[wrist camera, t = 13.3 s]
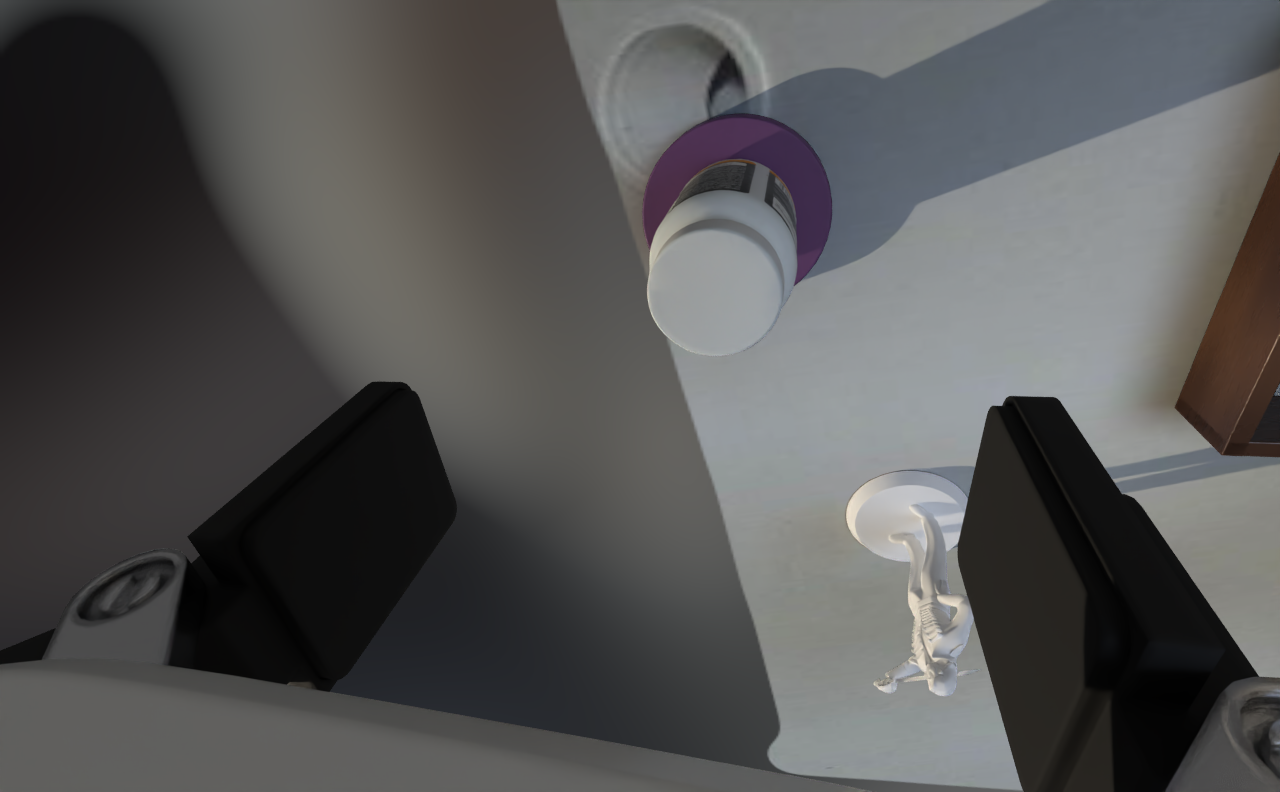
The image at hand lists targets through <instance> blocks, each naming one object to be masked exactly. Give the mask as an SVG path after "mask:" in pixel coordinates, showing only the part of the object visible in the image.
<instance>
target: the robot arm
mask: <svg viewBox="0 0 1280 792" xmlns="http://www.w3.org/2000/svg"><path fill="white" fill-rule="evenodd" d="M456 512H457V505H456V500H455V497H454V495H453V492H452V489H451V486H450V483H449V480H448V477H447V475H446V472H445V469H444V466H443V463H442V460H441V458H440V455H439V452H438V449H437V446H436V444H435V441H434V438H433V435H432V432H431V429H430V427H429V424H428V421H427V418H426V416H425V412H424V409H423V407H422V404H421V401H420V398H419V396H418V394H417V393H416V392H415V391H412V390H411V388H410V387H409V386H408V385H407V384H405V383H403V382H371V383H370V384H368V385H367V386H365V387H364V388H363V389H362V390H361V391H360V392H358V393H357V394H356V395H355V396H354V397H353V398H351V399H350V400H349V401H348V402H347V403H345V404H344V405H343V406H342V407H341V408H339V409H338V410H337V411H336V412H335V413H333V414H332V415H331V416H330V417H329V418H328V419H326V420H325V421H324V422H323V423H322V424H320V425H319V426H318V427H317V428H316V429H314V430H313V431H312V432H311V433H310V434H309V435H307V436H306V437H305V438H304V439H303V440H301V441H300V442H299V443H298V444H297V445H295V446H294V447H293V448H292V449H291V450H290V451H288V452H287V453H286V454H285V455H284V456H283V457H281V458H280V459H279V460H278V461H276V462H275V463H274V464H273V465H272V466H271V467H269V468H268V469H267V470H266V471H265V472H263V473H262V474H261V475H260V476H259V477H257V478H256V479H255V480H254V481H253V482H252V483H250V484H249V485H248V486H247V487H246V488H244V489H243V490H242V491H241V492H240V493H239V494H237V495H236V496H235V497H234V498H233V499H231V500H230V501H229V502H228V503H227V504H226V505H224V506H223V507H222V508H221V509H220V510H218V511H217V512H216V513H215V514H214V515H212V516H211V517H210V518H209V519H208V520H207V521H205V522H204V523H203V524H202V525H201V526H199V527H198V528H197V529H196V530H195V531H194V532H192V533H191V534H190V535H189V536H188V538H189V540H190V541H191V543H192V544H193V546H194V547H195V548H196V550H197V551H198V553H199V554H200V556H199V557H198V558H197V559H196V560H195V561H194V562H193V563H190V561H189V560H188V559H187V557H186V556H185V555H184V554H183V553H182V552H181V551H179V550H175V549H170V548H168V549H156V550H152V551H148V552H145V553H141V554H137V555H135V556H133V557H130V558H128V559H126V560H123V561H121V562H119V563H117V564H115V565H114V566H112V567H110V568H108V569H106V570H105V571H103V572H102V573H100V574H99V575H97V576H96V577H94V578H93V579H92V580H90V581H89V582H88V583H87V584H85V585H84V586H83V587H82V588H81V589H80V590H79V591H78V592H77V593H76V594H75V595H74V596H73V597H72V599H71V600H70V601H69V603H68V604H67V606H66V608H65V609H64V611H63V614H62V616H61V618H60V620H59V623H58V625H57V627H56V628H55V629H52V630H50V631H47V632H45V633H42V634H40V635H38V636H35V637H33V638H30V639H28V640H25V641H23V642H21V643H18V644H16V645H13V646H11V647H8V648H6V649H3V650H1V651H0V792H873V791H868V790H863V789H858V788H853V787H848V786H843V785H838V784H834V783H829V782H823V781H818V780H812V779H807V778H802V777H796V776H790V775H785V774H780V773H775V772H769V771H764V770H758V769H753V768H747V767H742V766H737V765H731V764H726V763H721V762H715V761H710V760H704V759H699V758H693V757H688V756H683V755H677V754H672V753H666V752H661V751H656V750H650V749H645V748H639V747H633V746H629V745H623V744H618V743H612V742H607V741H601V740H595V739H590V738H585V737H579V736H574V735H568V734H562V733H557V732H551V731H546V730H540V729H535V728H529V727H523V726H518V725H512V724H507V723H501V722H496V721H490V720H485V719H479V718H473V717H468V716H462V715H457V714H451V713H445V712H439V711H434V710H429V709H423V708H417V707H412V706H406V705H400V704H395V703H389V702H384V701H378V700H371V699H366V698H360V697H354V696H349V695H343V694H337V693H332V692H330V690H331V689H332V687H333V686H334V684H335V683H336V682H337V680H339V679H341V678H343V677H344V676H346V675H347V674H348V673H349V671H350V670H351V669H352V667H353V666H354V664H355V663H356V662H357V660H358V659H359V657H360V656H361V654H362V653H363V651H364V650H365V649H366V647H367V646H368V644H369V643H370V641H371V640H372V638H373V637H374V635H375V634H376V633H377V631H378V630H379V628H380V627H381V625H382V624H383V623H384V621H385V620H386V618H387V617H388V615H389V614H390V612H391V611H392V610H393V608H394V607H395V605H396V604H397V602H398V601H399V600H400V598H401V597H402V595H403V594H404V592H405V591H406V589H407V588H408V586H409V585H410V583H411V582H412V581H413V579H414V578H415V576H416V575H417V574H418V572H419V571H420V569H421V568H422V566H423V565H424V563H425V562H426V561H427V559H428V558H429V556H430V555H431V553H432V552H433V551H434V549H435V548H436V546H437V545H438V543H439V542H440V540H441V539H442V538H443V536H444V535H445V533H446V532H447V530H448V529H449V527H450V526H451V525H452V523H453V521H454V519H455V517H456ZM958 563H959V568H960V571H961V575H962V578H963V582H964V586H965V589H966V593H967V596H968V600H969V603H970V607H971V610H972V614H973V617H974V621H975V624H976V628H977V631H978V635H979V638H980V642H981V646H982V649H983V653H984V656H985V660H986V663H987V667H988V670H989V674H990V677H991V681H992V684H993V688H994V691H995V695H996V699H997V702H998V706H999V709H1000V713H1001V716H1002V720H1003V723H1004V727H1005V730H1006V734H1007V737H1008V741H1009V744H1010V748H1011V752H1012V755H1013V759H1014V762H1015V766H1016V769H1017V773H1018V776H1019V780H1020V783H1021V786H1022V789H1023V791H1024V792H1280V678H1273V677H1259V676H1258V674H1257V673H1256V671H1255V670H1254V668H1253V667H1252V666H1251V664H1250V663H1249V661H1248V660H1247V658H1246V657H1245V655H1244V654H1243V653H1242V651H1241V650H1240V648H1239V647H1238V645H1237V644H1236V642H1235V641H1234V640H1233V638H1232V637H1231V635H1230V634H1229V632H1228V631H1227V629H1226V628H1225V626H1224V625H1223V624H1222V622H1221V621H1220V619H1219V618H1218V616H1217V615H1216V613H1215V612H1214V611H1213V609H1212V608H1211V606H1210V605H1209V603H1208V602H1207V600H1206V599H1205V598H1204V596H1203V595H1202V593H1201V592H1200V590H1199V589H1198V587H1197V586H1196V585H1195V583H1194V582H1193V580H1192V579H1191V577H1190V576H1189V574H1188V573H1187V571H1186V570H1185V569H1184V567H1183V566H1182V564H1181V563H1180V561H1179V560H1178V558H1177V557H1176V556H1175V554H1174V553H1173V551H1172V550H1171V548H1170V547H1169V545H1168V544H1167V543H1166V541H1165V540H1164V538H1163V537H1162V535H1161V534H1160V532H1159V531H1158V530H1157V528H1156V527H1155V525H1154V524H1153V522H1152V521H1151V519H1150V518H1149V516H1148V515H1147V514H1146V512H1145V511H1144V509H1143V508H1142V506H1141V505H1140V504H1139V503H1138V502H1137V501H1136V500H1135V499H1134V498H1132V497H1130V496H1128V495H1126V494H1121V492H1120V491H1119V489H1118V488H1117V486H1116V485H1115V483H1114V482H1113V480H1112V479H1111V477H1110V476H1109V474H1108V473H1107V471H1106V470H1105V468H1104V467H1103V465H1102V464H1101V462H1100V461H1099V459H1098V458H1097V456H1096V455H1095V453H1094V452H1093V450H1092V449H1091V447H1090V446H1089V444H1088V443H1087V441H1086V440H1085V438H1084V437H1083V435H1082V434H1081V432H1080V431H1079V429H1078V428H1077V426H1076V425H1075V423H1074V422H1073V420H1072V419H1071V417H1070V416H1069V414H1068V413H1067V411H1066V410H1065V408H1064V407H1063V405H1062V404H1061V402H1060V401H1059V400H1058V399H1057V398H1054V397H1025V396H1009V397H1007V398H1006V399H1005V401H1004V403H1003V406H992V407H990V409H989V411H988V414H987V418H986V422H985V427H984V431H983V435H982V440H981V444H980V449H979V453H978V458H977V462H976V466H975V471H974V475H973V480H972V484H971V488H970V493H969V497H968V502H967V506H966V510H965V515H964V519H963V524H962V528H961V532H960V537H959V542H958ZM287 684H288V685H287Z"/></svg>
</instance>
